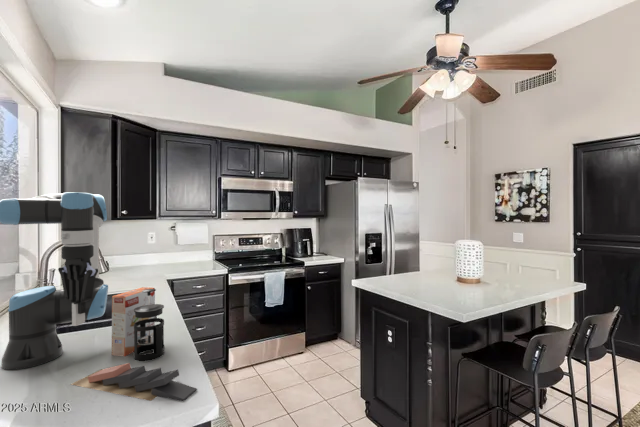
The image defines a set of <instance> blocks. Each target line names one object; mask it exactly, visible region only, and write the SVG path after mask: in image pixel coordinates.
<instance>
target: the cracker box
mask: <svg viewBox="0 0 640 427" xmlns="http://www.w3.org/2000/svg"><path fill="white" fill-rule="evenodd" d="M146 289H156V288H155V287H147V286H146V287H144V286H142V287H139V288H136V289H132V290H128V291H125V292H122V293H118V294H115V295H112V296H111V356H116V357H117V356H118V357H127V356H129V355H130V354H133V353H134V324H135V323H136V322H138V321H141V320H145V319H149V318H137V317H135V312H134V309H135V308H137V307H140V306H144V305H148V296H147V292H142V291H143V290H146ZM155 299H156V292H155V291H153V292H151V295H150V305H151V304H156V302H155V301H156V300H155ZM151 318H156V316H155V317H150V319H151ZM155 323H156V322H150V326H154V325H156V324H155ZM148 326H149V323H146V327H148ZM137 327H140V325H138V326H137ZM147 335H149V331H146V336H147ZM150 335H153V330H150ZM138 338H140V331H137V339H138ZM138 347H140V346H138V345H137V348H138Z"/></svg>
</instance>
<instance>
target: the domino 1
mask: <svg viewBox="0 0 640 427" xmlns="http://www.w3.org/2000/svg"><path fill="white" fill-rule="evenodd" d="M145 371H147V369H146V366H145V365H140V366H136V367H131V369H129V370H127V371H125V372H123V373H121V374H120V375H118V376H116V377H113V378H108V379H104V380H102V381H103V386H104V385H109V384H114V383H119V382H124V381H128V380H132V379H133V378H135V377H137V376H138V375H140V374H142V373H144V372H145Z"/></svg>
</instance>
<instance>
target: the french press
mask: <svg viewBox="0 0 640 427" xmlns="http://www.w3.org/2000/svg"><path fill="white" fill-rule="evenodd" d="M153 291H157V289H156V288H155V289H146V290H143V291H142V292H147V296H148V305H144V306H140V307H137V308H135V309H134V312H135V317H137V318H149V319H145V320H141V321H138V322H136V323H135V324H134V352H133V360H134V361H136V362H141V363H142V362H150V361H154V360H157V359H159V358H162V357H163V356H164V355H165V344H164V342H165V341H164V340H165V339H164V338H165V337H164V336H165V335H164V330H165V329H164V325H165V319H164V318H161V317H160V318H159V317H158V316H160V315H162V314H163V311H164V310H163V309H164V308H165V305H164V304H160V303H159V304H158V303H155V304H151V305H150V295H151V292H153ZM150 317H155V318H151V319H150ZM150 322H155V323H158V324H155V325H154V326H150ZM146 323H149V326H148V327H146ZM138 325H140V327H137V326H138ZM150 330H153V335H150ZM137 331H140V338H138V339H137ZM146 331H149V335H147V336H146ZM137 345H138V346H140V347H138V348H137ZM149 351H152V352H149ZM145 352H148V353H145Z"/></svg>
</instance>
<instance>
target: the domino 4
mask: <svg viewBox="0 0 640 427" xmlns="http://www.w3.org/2000/svg"><path fill="white" fill-rule="evenodd" d="M197 390H198V388H197V387H194V386H191V385H188V384H184V383H182V382H179V381H176V380H174V379H173V380H171V381H170V382H168V383H167V384H166V385H162V386H158V387H154V388H152V392H151V394H152V395H155V396H157V397H159V398H163V399H168V400H174V401H179V402H185V401H186V400H187V399H189V398H190V396H192V395H193V394H195V393H196V392H197Z"/></svg>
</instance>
